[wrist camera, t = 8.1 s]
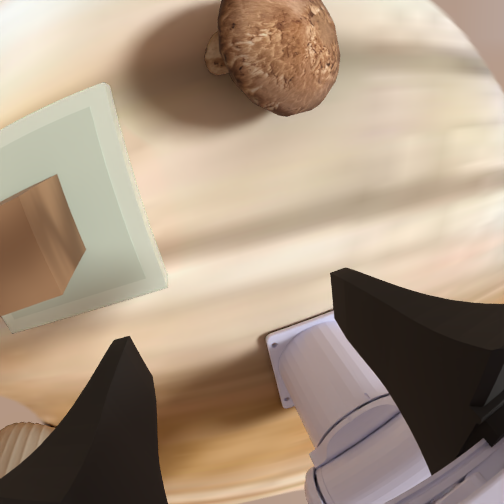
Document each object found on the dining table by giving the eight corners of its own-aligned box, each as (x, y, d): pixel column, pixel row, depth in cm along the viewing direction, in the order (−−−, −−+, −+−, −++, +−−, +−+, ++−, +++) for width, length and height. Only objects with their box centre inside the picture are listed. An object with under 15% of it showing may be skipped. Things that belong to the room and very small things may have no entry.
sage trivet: (167, 273, 20) (167, 288, 18) (19, 319, 18) (11, 334, 17) (109, 85, 15) (103, 81, 13) (-46, 164, 13) (-61, 169, 12)
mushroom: (150, 84, 13) (257, 35, 9) (194, -21, 13) (284, -67, 9) (258, 144, 19) (356, 134, 15) (276, 46, 19) (359, 26, 15)
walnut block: (86, 249, 16) (62, 294, 12) (26, 272, 16) (-7, 319, 11) (57, 173, 14) (18, 196, 10) (-4, 204, 14) (-50, 234, 9)
